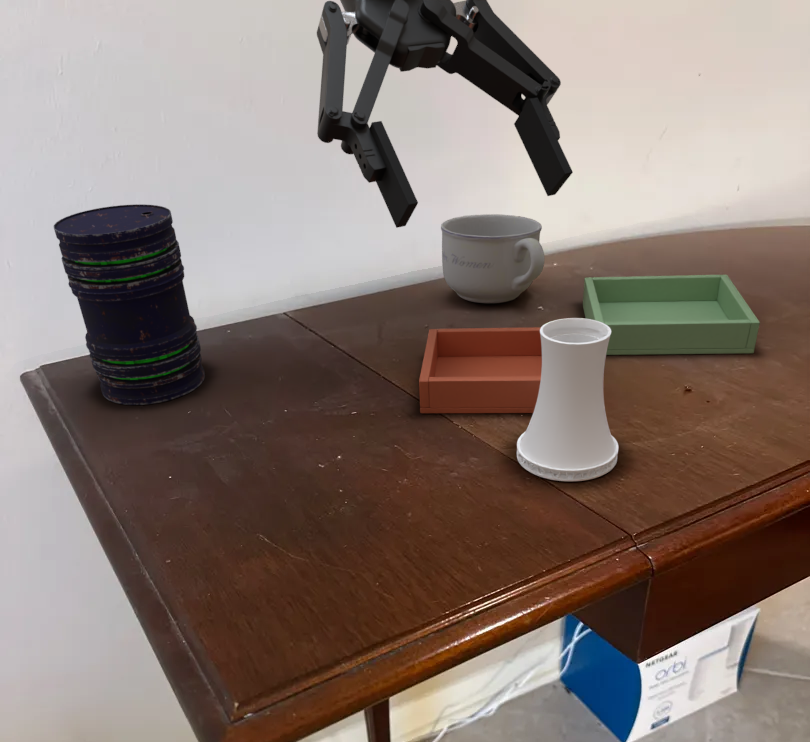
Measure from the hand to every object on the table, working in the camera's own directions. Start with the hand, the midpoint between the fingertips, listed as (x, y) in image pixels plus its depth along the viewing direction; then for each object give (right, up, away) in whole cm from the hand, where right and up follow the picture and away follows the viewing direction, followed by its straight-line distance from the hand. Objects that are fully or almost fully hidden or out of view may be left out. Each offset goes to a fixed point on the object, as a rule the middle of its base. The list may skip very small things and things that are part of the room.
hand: (487, 199), depth 60 cm
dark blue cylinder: (-30, -10, +18) cm, 36 cm away
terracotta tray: (+2, -11, +14) cm, 17 cm away
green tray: (+20, -4, +22) cm, 30 cm away
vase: (+6, -19, +3) cm, 20 cm away
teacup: (+4, +2, +31) cm, 32 cm away
